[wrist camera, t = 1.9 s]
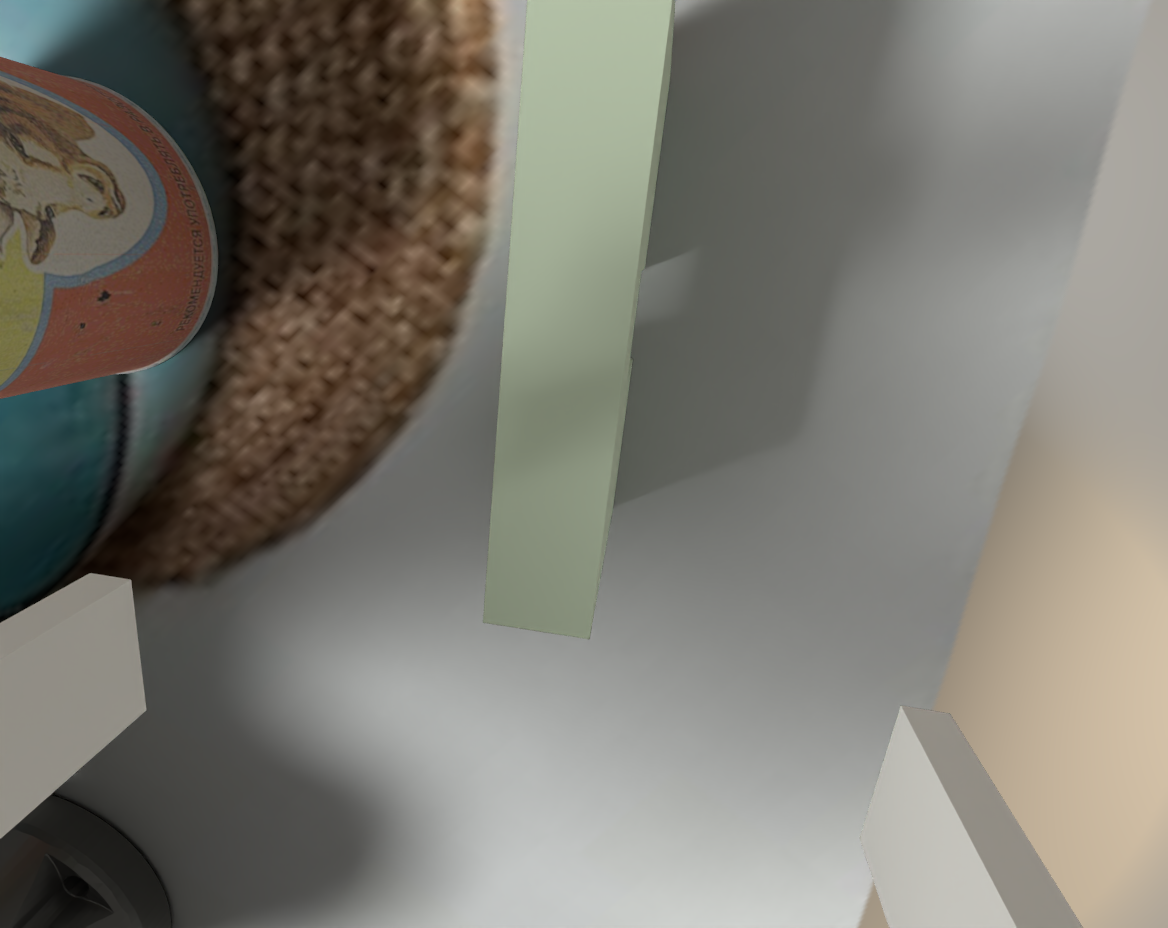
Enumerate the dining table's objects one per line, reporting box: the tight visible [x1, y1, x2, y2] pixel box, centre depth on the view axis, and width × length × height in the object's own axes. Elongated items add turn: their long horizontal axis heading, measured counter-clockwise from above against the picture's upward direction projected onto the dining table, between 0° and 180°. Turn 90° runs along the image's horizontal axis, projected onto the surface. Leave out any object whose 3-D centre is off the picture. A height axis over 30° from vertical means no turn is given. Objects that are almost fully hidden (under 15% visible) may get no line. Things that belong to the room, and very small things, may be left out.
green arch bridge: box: [483, 0, 675, 639], centre depth 21 cm, size 3×16×10 cm, turn 174°
